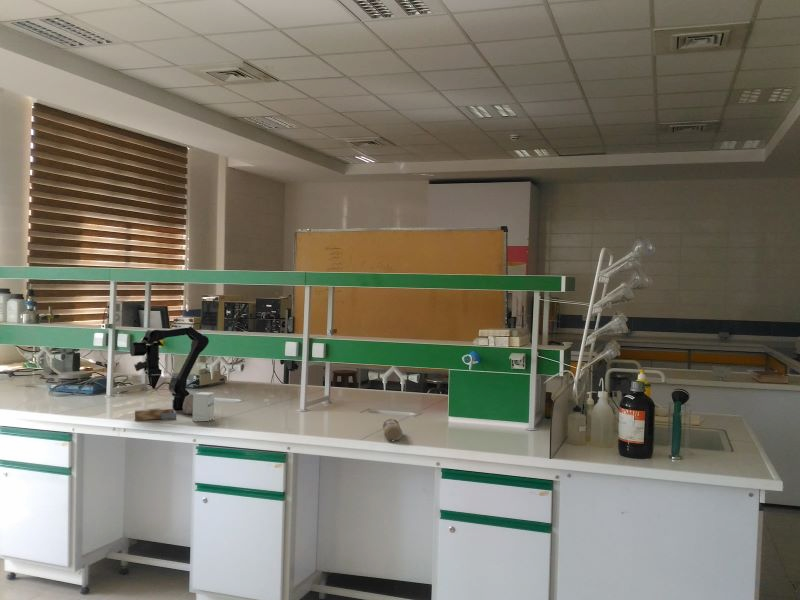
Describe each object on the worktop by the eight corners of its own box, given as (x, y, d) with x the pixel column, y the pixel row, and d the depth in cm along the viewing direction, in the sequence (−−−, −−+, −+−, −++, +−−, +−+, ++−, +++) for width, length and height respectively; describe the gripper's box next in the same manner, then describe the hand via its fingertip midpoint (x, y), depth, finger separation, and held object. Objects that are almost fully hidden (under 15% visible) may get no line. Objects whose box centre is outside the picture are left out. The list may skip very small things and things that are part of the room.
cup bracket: (173, 416, 346) (173, 410, 346) (176, 419, 339) (176, 412, 339) (159, 417, 343) (159, 410, 343) (161, 419, 336) (161, 413, 336)
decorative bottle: (402, 441, 301) (402, 425, 301) (384, 442, 300) (384, 425, 300) (398, 429, 327) (398, 414, 326) (381, 429, 326) (381, 414, 326)
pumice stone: (214, 414, 354) (215, 393, 354) (205, 417, 347) (206, 396, 347) (188, 412, 359) (188, 391, 359) (178, 414, 352) (179, 393, 352)
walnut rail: (171, 416, 343) (171, 407, 343) (171, 417, 339) (171, 409, 339) (135, 418, 338) (134, 410, 338) (135, 420, 334) (134, 411, 334)
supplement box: (207, 422, 333) (207, 394, 333) (192, 421, 334) (192, 393, 334) (214, 419, 340) (214, 392, 340) (199, 418, 342) (200, 391, 341)
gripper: (133, 353, 361) (132, 385, 361) (137, 357, 344) (136, 390, 344) (156, 353, 365) (156, 384, 366) (162, 357, 349) (161, 389, 349)
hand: (152, 387), depth 356 cm, fingers open, 9 cm apart
